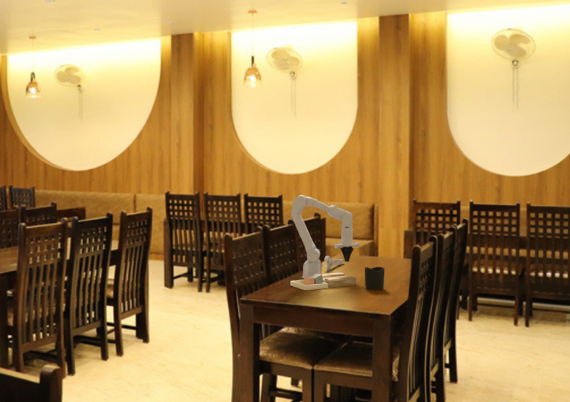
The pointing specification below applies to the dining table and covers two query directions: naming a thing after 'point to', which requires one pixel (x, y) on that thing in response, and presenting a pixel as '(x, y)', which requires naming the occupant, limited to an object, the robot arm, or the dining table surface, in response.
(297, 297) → the dining table surface
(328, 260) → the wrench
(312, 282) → the terracotta cube
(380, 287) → the pen holder
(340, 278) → the grooved board
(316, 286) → the tray
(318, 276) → the matte grey cube
